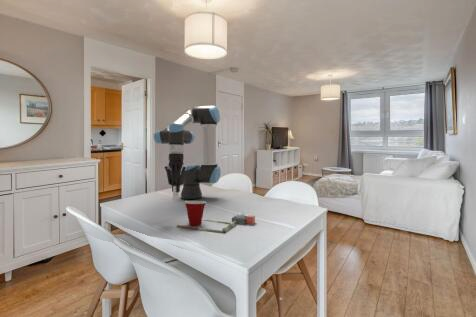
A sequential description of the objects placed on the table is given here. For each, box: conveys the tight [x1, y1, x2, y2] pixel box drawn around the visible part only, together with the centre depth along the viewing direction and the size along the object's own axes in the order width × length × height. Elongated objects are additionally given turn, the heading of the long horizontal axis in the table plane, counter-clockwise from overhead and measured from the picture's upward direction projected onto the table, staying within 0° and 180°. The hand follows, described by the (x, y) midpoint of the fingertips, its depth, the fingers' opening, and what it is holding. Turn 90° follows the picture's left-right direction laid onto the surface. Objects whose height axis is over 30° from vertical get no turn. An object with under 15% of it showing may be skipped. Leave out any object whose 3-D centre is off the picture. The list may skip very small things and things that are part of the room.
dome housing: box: [231, 214, 256, 227], centre depth 126 cm, size 7×11×4 cm, turn 69°
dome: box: [235, 212, 246, 219], centre depth 127 cm, size 5×5×5 cm
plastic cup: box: [184, 200, 207, 227], centre depth 123 cm, size 11×11×12 cm
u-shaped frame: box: [175, 219, 237, 234], centre depth 121 cm, size 15×25×2 cm, turn 69°
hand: (175, 198), depth 127 cm, fingers closed
